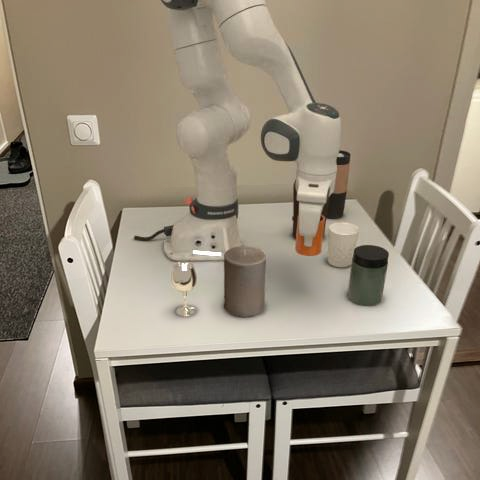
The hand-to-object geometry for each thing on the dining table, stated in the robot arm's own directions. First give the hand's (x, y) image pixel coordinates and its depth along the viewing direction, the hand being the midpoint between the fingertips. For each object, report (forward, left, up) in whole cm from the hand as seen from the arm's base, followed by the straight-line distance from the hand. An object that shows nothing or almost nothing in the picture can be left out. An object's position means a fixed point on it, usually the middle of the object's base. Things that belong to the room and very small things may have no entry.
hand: (309, 238), depth 131 cm
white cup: (+14, +13, -14) cm, 24 cm away
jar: (+13, -6, -14) cm, 20 cm away
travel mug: (+24, +45, -14) cm, 53 cm away
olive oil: (+11, +31, -14) cm, 36 cm away
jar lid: (+13, -6, -3) cm, 15 cm away
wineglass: (-31, -3, -14) cm, 34 cm away
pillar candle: (-17, -4, -14) cm, 23 cm away
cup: (0, 0, -3) cm, 3 cm away
